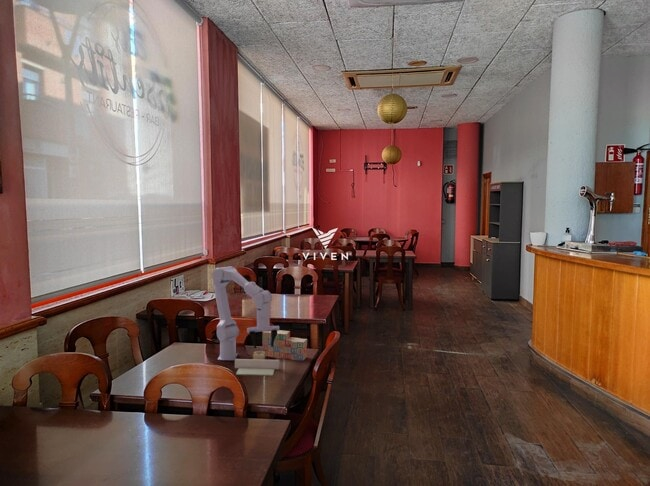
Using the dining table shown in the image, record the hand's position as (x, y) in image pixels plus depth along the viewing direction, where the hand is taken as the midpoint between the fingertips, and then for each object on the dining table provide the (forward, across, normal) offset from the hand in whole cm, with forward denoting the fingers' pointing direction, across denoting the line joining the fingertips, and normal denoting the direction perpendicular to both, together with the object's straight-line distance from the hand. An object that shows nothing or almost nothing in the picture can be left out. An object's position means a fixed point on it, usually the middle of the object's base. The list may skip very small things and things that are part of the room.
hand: (263, 347), depth 202 cm
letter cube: (+9, -2, +5) cm, 11 cm away
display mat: (+9, -4, -6) cm, 12 cm away
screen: (+9, -3, -1) cm, 10 cm away
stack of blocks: (+10, +11, +14) cm, 20 cm away
